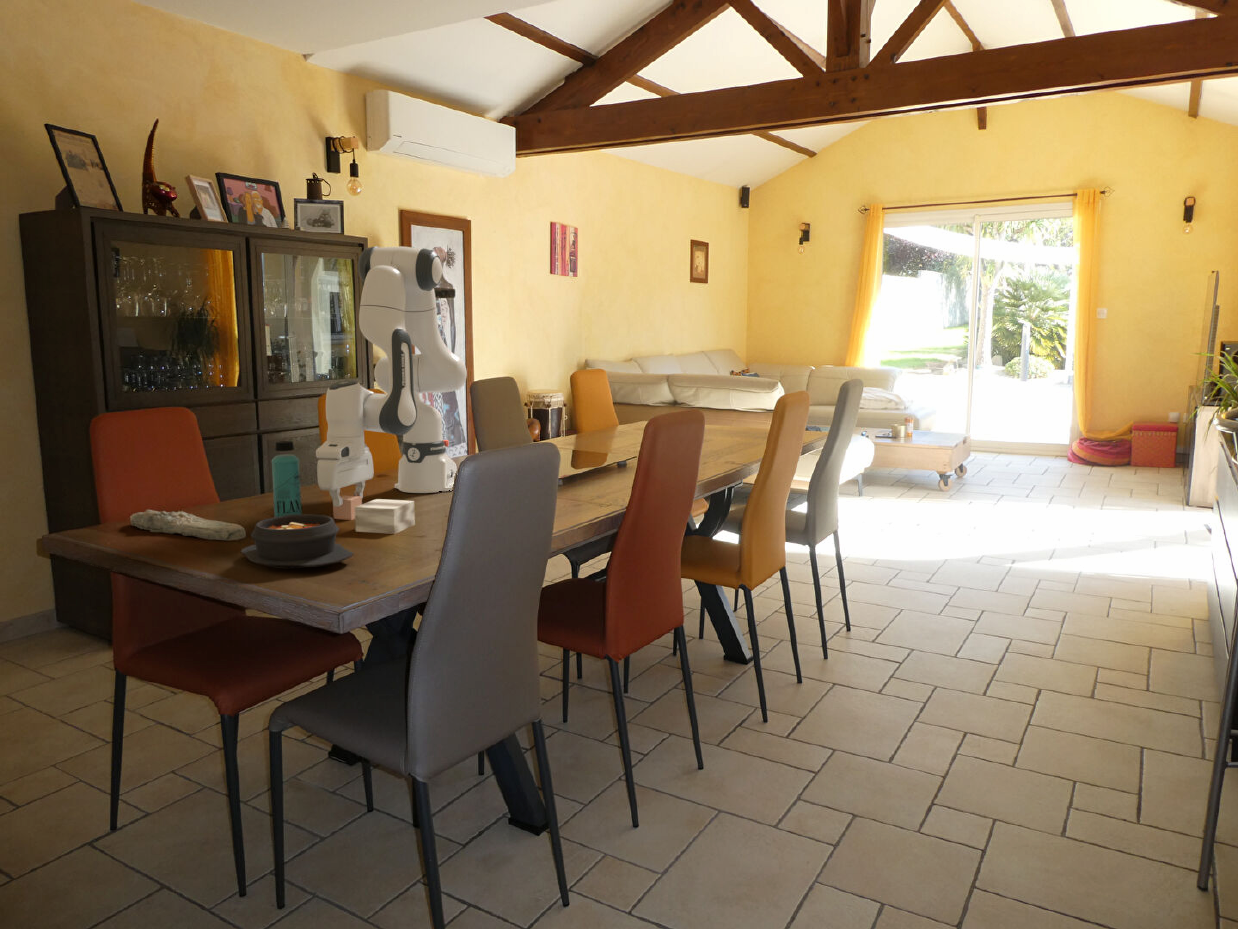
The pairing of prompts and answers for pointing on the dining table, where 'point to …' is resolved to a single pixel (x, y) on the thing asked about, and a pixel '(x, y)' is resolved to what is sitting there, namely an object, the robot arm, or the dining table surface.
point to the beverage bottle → (286, 481)
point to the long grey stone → (187, 525)
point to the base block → (384, 516)
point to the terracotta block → (347, 507)
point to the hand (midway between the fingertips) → (348, 502)
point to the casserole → (296, 542)
